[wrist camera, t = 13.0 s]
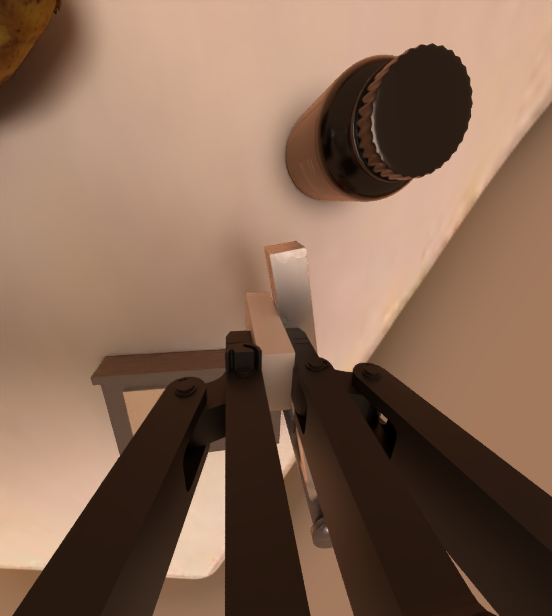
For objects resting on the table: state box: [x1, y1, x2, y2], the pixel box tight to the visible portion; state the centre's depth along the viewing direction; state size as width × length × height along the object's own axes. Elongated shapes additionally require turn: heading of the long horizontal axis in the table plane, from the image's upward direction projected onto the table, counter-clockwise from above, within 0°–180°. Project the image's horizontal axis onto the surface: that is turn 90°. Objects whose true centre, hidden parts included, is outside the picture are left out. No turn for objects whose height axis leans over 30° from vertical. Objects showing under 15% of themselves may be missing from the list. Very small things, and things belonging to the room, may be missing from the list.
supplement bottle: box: [286, 43, 473, 202], centre depth 17 cm, size 7×7×12 cm
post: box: [283, 404, 333, 548], centre depth 24 cm, size 4×4×15 cm
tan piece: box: [264, 241, 319, 502], centre depth 18 cm, size 18×2×7 cm, turn 9°
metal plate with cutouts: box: [91, 349, 281, 455], centre depth 28 cm, size 17×12×3 cm
